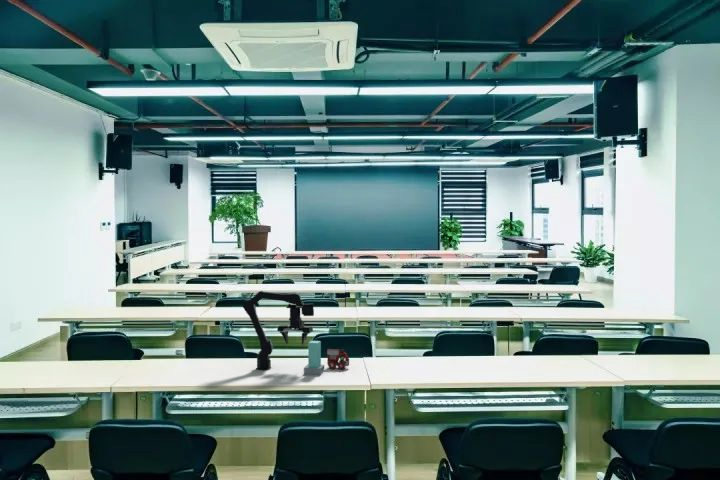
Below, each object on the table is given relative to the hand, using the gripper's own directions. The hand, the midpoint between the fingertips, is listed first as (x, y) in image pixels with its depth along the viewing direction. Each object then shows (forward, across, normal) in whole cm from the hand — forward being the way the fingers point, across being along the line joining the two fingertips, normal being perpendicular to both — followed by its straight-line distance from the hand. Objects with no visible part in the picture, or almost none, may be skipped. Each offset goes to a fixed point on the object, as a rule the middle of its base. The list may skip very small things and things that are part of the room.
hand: (295, 344), depth 342 cm
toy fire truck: (+13, -22, -8) cm, 27 cm away
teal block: (+9, -14, +7) cm, 18 cm away
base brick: (+14, -14, +7) cm, 21 cm away
